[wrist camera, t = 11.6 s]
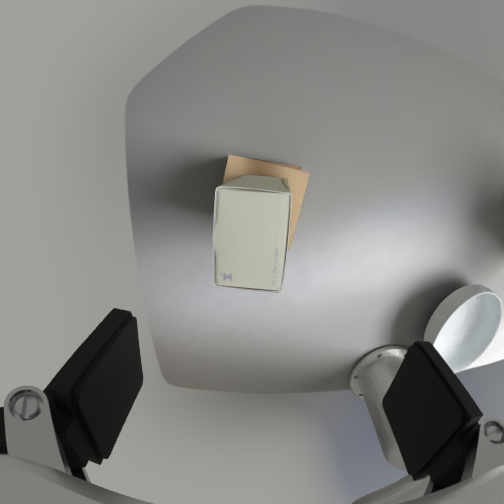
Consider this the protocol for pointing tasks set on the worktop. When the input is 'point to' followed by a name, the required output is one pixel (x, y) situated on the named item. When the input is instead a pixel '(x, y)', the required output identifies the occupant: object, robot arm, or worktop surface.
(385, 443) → the robot arm
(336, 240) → the worktop surface
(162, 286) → the worktop surface
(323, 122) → the worktop surface
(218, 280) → the skincare box
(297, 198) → the oak top block
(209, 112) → the worktop surface
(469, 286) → the cereal bowl
